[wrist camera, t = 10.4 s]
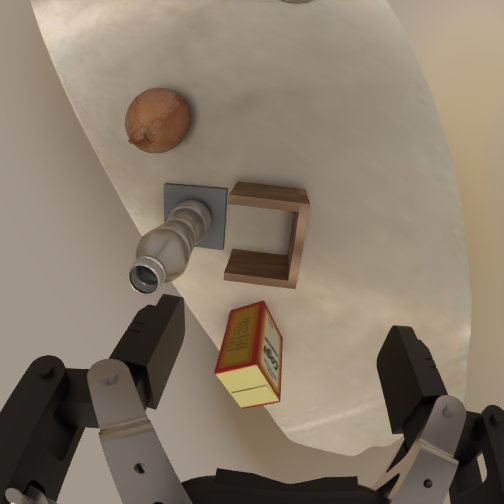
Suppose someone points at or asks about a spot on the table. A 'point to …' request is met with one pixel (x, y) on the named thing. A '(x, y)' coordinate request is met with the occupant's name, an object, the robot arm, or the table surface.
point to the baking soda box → (251, 356)
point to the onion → (157, 120)
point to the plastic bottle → (169, 247)
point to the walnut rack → (263, 264)
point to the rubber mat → (211, 199)
